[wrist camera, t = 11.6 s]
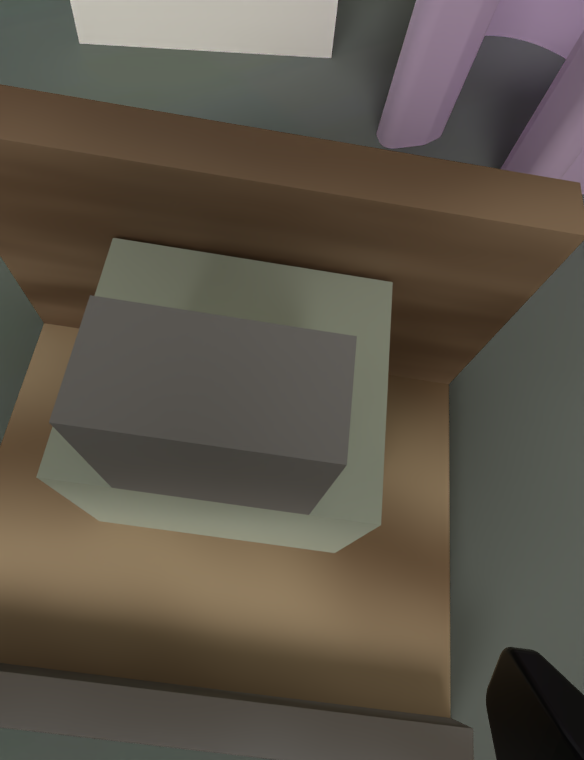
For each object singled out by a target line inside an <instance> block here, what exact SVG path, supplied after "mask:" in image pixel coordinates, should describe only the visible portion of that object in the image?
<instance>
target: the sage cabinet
mask: <svg viewBox="0 0 584 760" xmlns="http://www.w3.org/2000/svg"><path fill="white" fill-rule="evenodd" d="M392 286H393V282H388V281H382V280H376V279H370V278H363V277H357V276H351V275H344V274H338V273H332V272H326V271H319V270H313V269H307V268H300V267H294V266H288V265H282V264H275V263H269V262H263V261H256V260H250V259H244V258H237V257H231V256H225V255H219V254H212V253H206V252H200V251H193V250H187V249H181V248H175V247H168V246H162V245H156V244H149V243H143V242H137V241H131V240H124V239H118V238H113V239H112V242H111V246H110V249H109V252H108V255H107V258H106V261H105V264H104V267H103V270H102V274H101V277H100V280H99V283H98V286H97V289H96V292H95V295H94V296H92V295H90V297H89V300H88V303H87V306H86V309H85V312H84V316H83V319H82V322H81V325H80V328H79V331H78V334H77V337H76V340H75V343H74V346H73V349H72V352H71V356H70V359H69V362H68V365H67V368H66V371H65V374H64V377H63V380H62V383H61V386H60V389H59V393H58V396H57V399H56V402H55V405H54V408H53V411H52V414H51V417H50V420H49V423H50V424H51V425H52V426H53V427H52V430H51V433H50V436H49V439H48V442H47V445H46V448H45V452H44V455H43V458H42V461H41V464H40V467H39V470H38V473H37V476H36V478H38V479H39V480H41V481H42V482H44V483H45V484H47V485H48V486H49V487H51V488H52V489H54V490H55V491H57V492H58V493H60V494H61V495H62V496H64V497H65V498H67V499H68V500H70V501H71V502H73V503H74V504H75V505H77V506H78V507H80V508H81V509H83V510H84V511H85V512H87V513H88V514H90V515H91V516H93V517H94V518H96V519H97V520H98V521H102V522H109V523H117V524H124V525H131V526H139V527H146V528H153V529H161V530H168V531H176V532H183V533H190V534H198V535H205V536H212V537H220V538H227V539H235V540H242V541H249V542H257V543H264V544H271V545H279V546H286V547H294V548H301V549H308V550H316V551H323V552H330V553H336V552H337V551H339V550H341V549H342V548H344V547H346V546H347V545H349V544H350V543H352V542H354V541H355V540H357V539H359V538H360V537H362V536H364V535H365V534H367V533H369V532H370V531H372V530H374V529H375V528H377V527H379V526H380V525H381V516H382V495H383V474H384V453H385V432H386V411H387V390H388V370H389V349H390V328H391V307H392Z"/></svg>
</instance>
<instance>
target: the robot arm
mask: <svg viewBox="0 0 584 760" xmlns="http://www.w3.org/2000/svg"><path fill="white" fill-rule="evenodd" d="M486 707H487V713H488V718H489V723H490V728H491V733H492V738H493V743H494V749H495V754H496V759H497V760H584V695H583V694H582V693H581V692H580V691H579V690H578V689H577V688H576V687H575V686H574V685H572V684H571V683H570V682H569V681H568V680H567V679H566V678H565V677H564V676H563V675H562V674H561V673H560V672H559V671H558V670H557V669H556V668H554V667H553V666H552V665H551V664H550V663H549V662H548V661H547V660H546V659H545V658H544V657H543V656H542V655H540V654H539V653H538V652H536V651H534V650H530V649H522V648H514V647H508V648H505V649H504V650H503V651H502V653H501V655H500V657H499V660H498V662H497V665H496V667H495V670H494V673H493V675H492V678H491V680H490V683H489V686H488V689H487V694H486Z"/></svg>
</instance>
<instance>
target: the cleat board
mask: <svg viewBox="0 0 584 760" xmlns="http://www.w3.org/2000/svg"><path fill="white" fill-rule="evenodd" d="M113 238H118V239H124V240H131V241H137V242H143V243H149V244H156V245H162V246H168V247H175V248H181V249H187V250H193V251H200V252H206V253H212V254H219V255H225V256H231V257H237V258H244V259H250V260H256V261H263V262H269V263H275V264H282V265H288V266H294V267H300V268H307V269H313V270H319V271H326V272H332V273H338V274H344V275H351V276H357V277H363V278H370V279H376V280H382V281H388V282H393V286H392V307H391V328H390V349H389V370H388V390H387V411H386V432H385V453H384V474H383V495H382V516H381V525H380V526H379V527H377V528H375V529H374V530H372V531H370V532H369V533H367V534H365V535H364V536H362V537H360V538H359V539H357V540H355V541H354V542H352V543H350V544H349V545H347V546H346V547H344V548H342V549H341V550H339V551H337V552H336V553H330V552H323V551H316V550H308V549H301V548H294V547H286V546H279V545H271V544H264V543H257V542H249V541H242V540H235V539H227V538H220V537H212V536H205V535H198V534H190V533H183V532H176V531H168V530H161V529H153V528H146V527H139V526H131V525H124V524H117V523H109V522H102V521H98V520H97V519H96V518H94V517H93V516H91V515H90V514H88V513H87V512H85V511H84V510H83V509H81V508H80V507H78V506H77V505H75V504H74V503H73V502H71V501H70V500H68V499H67V498H65V497H64V496H62V495H61V494H60V493H58V492H57V491H55V490H54V489H52V488H51V487H49V486H48V485H47V484H45V483H44V482H42V481H41V480H39V479H38V478H36V476H37V473H38V470H39V467H40V464H41V461H42V458H43V455H44V452H45V448H46V445H47V442H48V439H49V436H50V433H51V430H52V427H53V426H52V425H51V424H50V423H49V420H50V417H51V414H52V411H53V408H54V405H55V402H56V399H57V396H58V393H59V389H60V386H61V383H62V380H63V377H64V374H65V371H66V368H67V365H68V362H69V359H70V356H71V352H72V349H73V346H74V343H75V340H76V337H77V334H78V331H79V328H80V325H81V322H82V319H83V316H84V312H85V309H86V306H87V303H88V300H89V297H90V295H92V296H94V295H95V292H96V289H97V286H98V283H99V280H100V277H101V274H102V270H103V267H104V264H105V261H106V258H107V255H108V252H109V249H110V246H111V242H112V239H113ZM583 240H584V206H583V199H582V191H581V184H580V183H579V182H573V181H567V180H561V179H555V178H549V177H543V176H538V175H532V174H526V173H520V172H514V171H508V170H502V169H496V168H490V167H484V166H478V165H473V164H467V163H461V162H455V161H449V160H443V159H437V158H431V157H425V156H419V155H414V154H408V153H402V152H396V151H390V150H384V149H378V148H372V147H366V146H360V145H355V144H349V143H343V142H337V141H331V140H325V139H319V138H313V137H307V136H301V135H295V134H290V133H284V132H278V131H272V130H266V129H260V128H254V127H248V126H242V125H236V124H231V123H225V122H219V121H213V120H207V119H201V118H195V117H189V116H183V115H177V114H172V113H166V112H160V111H154V110H148V109H142V108H136V107H130V106H124V105H118V104H112V103H107V102H101V101H95V100H89V99H83V98H77V97H71V96H65V95H59V94H53V93H48V92H42V91H36V90H30V89H24V88H18V87H12V86H6V85H0V256H1V258H2V259H3V261H4V262H5V264H6V265H7V267H8V268H9V270H10V272H11V273H12V275H13V276H14V278H15V279H16V281H17V282H18V284H19V285H20V287H21V288H22V290H23V292H24V293H25V295H26V296H27V298H28V299H29V301H30V302H31V304H32V305H33V307H34V308H35V310H36V312H37V313H38V315H39V316H40V318H41V319H42V321H43V322H44V325H43V328H42V331H41V333H40V336H39V339H38V342H37V345H36V347H35V350H34V353H33V356H32V359H31V362H30V364H29V367H28V370H27V373H26V376H25V378H24V381H23V384H22V387H21V390H20V392H19V395H18V398H17V401H16V404H15V406H14V409H13V412H12V415H11V418H10V420H9V423H8V426H7V429H6V432H5V434H4V437H3V440H2V443H1V446H0V728H8V729H17V730H25V731H34V732H43V733H51V734H60V735H68V736H77V737H85V738H94V739H102V740H111V741H120V742H128V743H137V744H145V745H154V746H162V747H171V748H179V749H188V750H197V751H205V752H214V753H222V754H231V755H239V756H248V757H256V758H265V759H274V760H474V751H473V728H471V727H468V726H466V725H464V724H462V723H460V722H458V721H456V720H454V719H452V718H450V513H449V383H450V382H451V381H452V380H453V379H454V378H455V377H456V376H457V375H458V374H459V373H460V372H461V371H462V370H463V369H464V367H465V366H466V365H467V364H468V363H469V362H470V361H471V360H472V359H473V358H474V357H475V356H476V355H477V354H478V353H479V351H480V350H481V349H482V348H483V347H484V346H485V345H486V344H487V343H488V342H489V341H490V340H491V339H492V338H493V337H494V335H495V334H496V333H497V332H498V331H499V330H500V329H501V328H502V327H503V326H504V325H505V324H506V323H507V322H508V321H509V319H510V318H511V317H512V316H513V315H514V314H515V313H516V312H517V311H518V310H519V309H520V308H521V307H522V306H523V305H524V303H525V302H526V301H527V300H528V299H529V298H530V297H531V296H532V295H533V294H534V293H535V292H536V291H537V290H538V289H539V287H540V286H541V285H542V284H543V283H544V282H545V281H546V280H547V279H548V278H549V277H550V276H551V275H552V274H553V273H554V271H555V270H556V269H557V268H558V267H559V266H560V265H561V264H562V263H563V262H564V261H565V260H566V259H567V258H568V257H569V255H570V254H571V253H572V252H573V251H574V250H575V249H576V248H577V247H578V246H579V245H580V244H581V243H582V242H583Z"/></svg>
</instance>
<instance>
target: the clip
mask: <svg viewBox="0 0 584 760" xmlns="http://www.w3.org/2000/svg"><path fill="white" fill-rule="evenodd" d="M484 36H503V37H510V38H515V39H520V40H524V41H527V42H530V43H534V44H536V45H539V46H542V47H544V48H546V49H548V50H550V51H552V52H554V53H556V54H558V55H560V56H562V57H563V58H565V59H566V60H565V62H564V64H563V65H562V67H561V69H560V70H559V72H558V74H557V75H556V77H555V79H554V80H553V82H552V84H551V85H550V87H549V89H548V90H547V92H546V94H545V95H544V97H543V99H542V100H541V102H540V104H539V105H538V107H537V109H536V110H535V112H534V114H533V115H532V117H531V119H530V120H529V122H528V124H527V125H526V127H525V129H524V130H523V132H522V134H521V135H520V137H519V139H518V140H517V142H516V144H515V145H514V147H513V149H512V150H511V152H510V154H509V155H508V157H507V159H506V160H505V162H504V164H503V165H502V167H501V169H502V170H508V171H514V172H520V173H526V174H532V175H538V176H543V177H549V178H555V179H561V180H567V181H573V182H579V183H580V184H581V191H582V194H584V0H416V2H415V6H414V9H413V12H412V16H411V19H410V22H409V26H408V29H407V32H406V36H405V39H404V42H403V46H402V49H401V52H400V56H399V59H398V63H397V66H396V69H395V73H394V76H393V79H392V83H391V86H390V89H389V93H388V96H387V99H386V103H385V106H384V109H383V113H382V116H381V119H380V123H379V126H378V129H377V133H376V135H377V138H378V140H379V142H380V144H381V145H382V146H384V147H386V148H389V149H396V148H404V147H412V146H420V145H425V144H427V143H429V142H432V141H434V140H436V139H438V138H439V137H440V136H441V135H442V132H443V130H444V128H445V126H446V123H447V121H448V119H449V116H450V114H451V112H452V110H453V107H454V105H455V103H456V100H457V98H458V96H459V93H460V91H461V89H462V87H463V84H464V82H465V80H466V77H467V75H468V73H469V71H470V68H471V66H472V64H473V61H474V59H475V57H476V54H477V52H478V50H479V48H480V45H481V43H482V41H483V38H484Z"/></svg>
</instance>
